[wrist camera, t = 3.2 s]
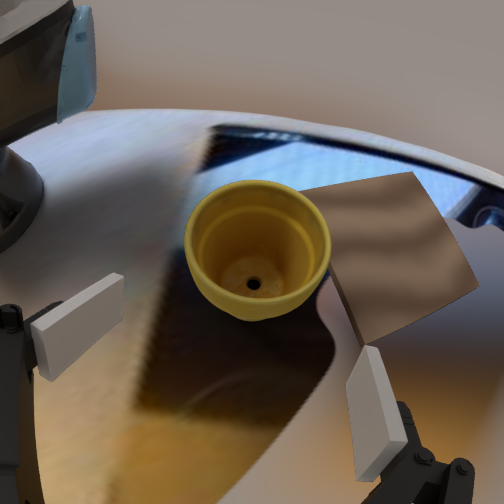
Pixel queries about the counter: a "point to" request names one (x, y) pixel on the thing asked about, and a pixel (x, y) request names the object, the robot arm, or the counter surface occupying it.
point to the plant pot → (257, 248)
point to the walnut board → (390, 253)
